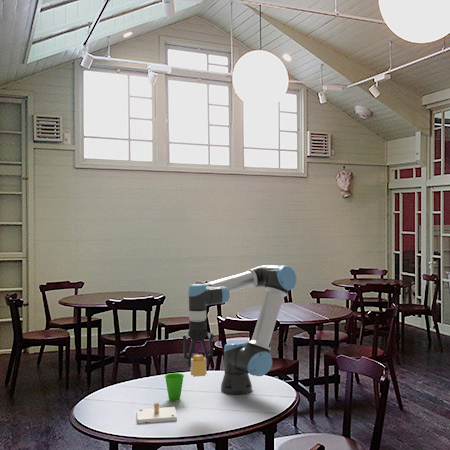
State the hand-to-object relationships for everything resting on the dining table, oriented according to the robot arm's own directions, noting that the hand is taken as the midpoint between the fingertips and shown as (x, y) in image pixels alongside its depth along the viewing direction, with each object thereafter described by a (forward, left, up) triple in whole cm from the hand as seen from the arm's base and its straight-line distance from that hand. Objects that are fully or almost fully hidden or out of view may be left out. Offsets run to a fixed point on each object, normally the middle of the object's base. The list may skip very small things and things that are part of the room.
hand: (198, 373), depth 211 cm
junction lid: (+18, +2, -16) cm, 25 cm away
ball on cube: (0, 0, 0) cm, 0 cm away
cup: (+9, -18, -16) cm, 26 cm away
